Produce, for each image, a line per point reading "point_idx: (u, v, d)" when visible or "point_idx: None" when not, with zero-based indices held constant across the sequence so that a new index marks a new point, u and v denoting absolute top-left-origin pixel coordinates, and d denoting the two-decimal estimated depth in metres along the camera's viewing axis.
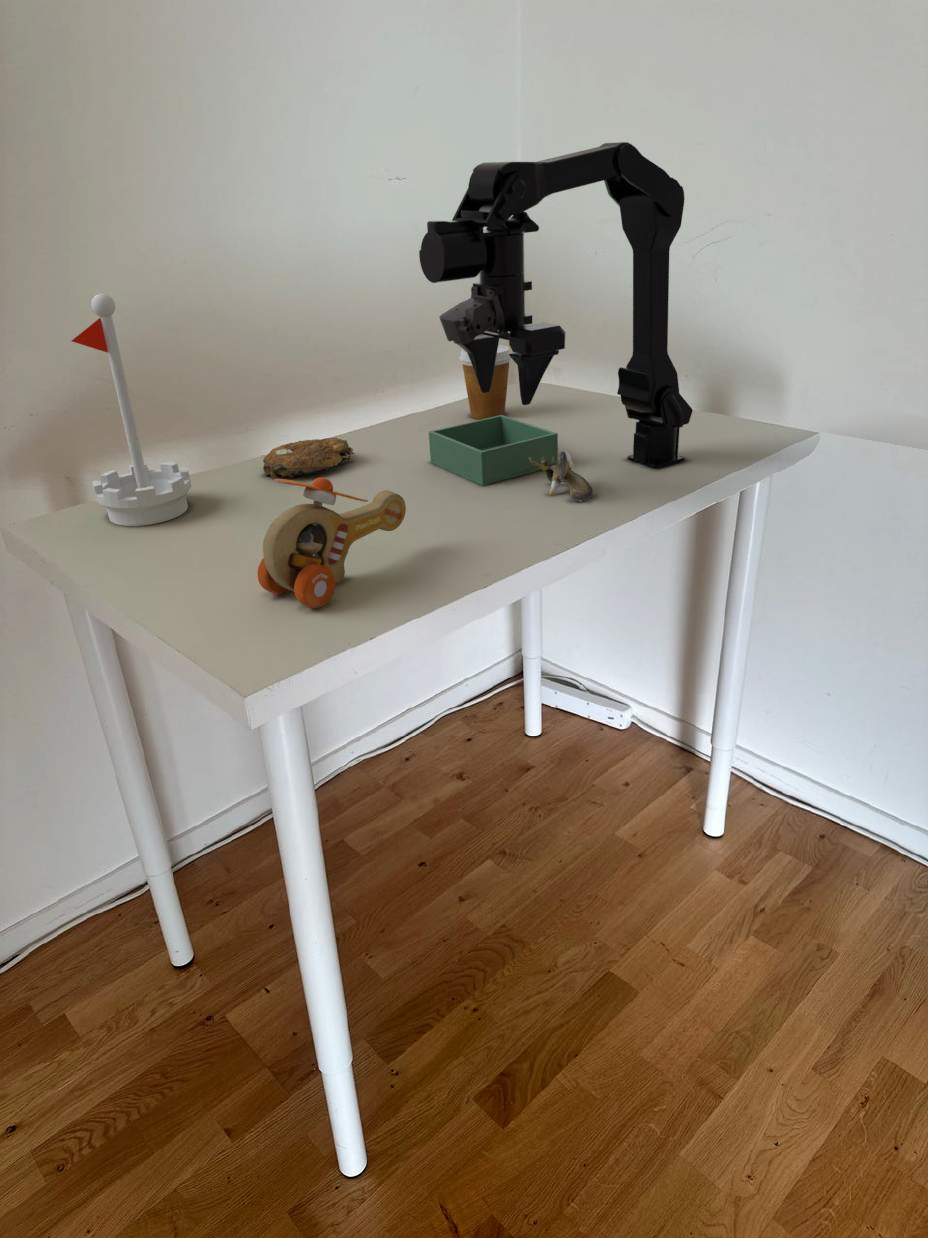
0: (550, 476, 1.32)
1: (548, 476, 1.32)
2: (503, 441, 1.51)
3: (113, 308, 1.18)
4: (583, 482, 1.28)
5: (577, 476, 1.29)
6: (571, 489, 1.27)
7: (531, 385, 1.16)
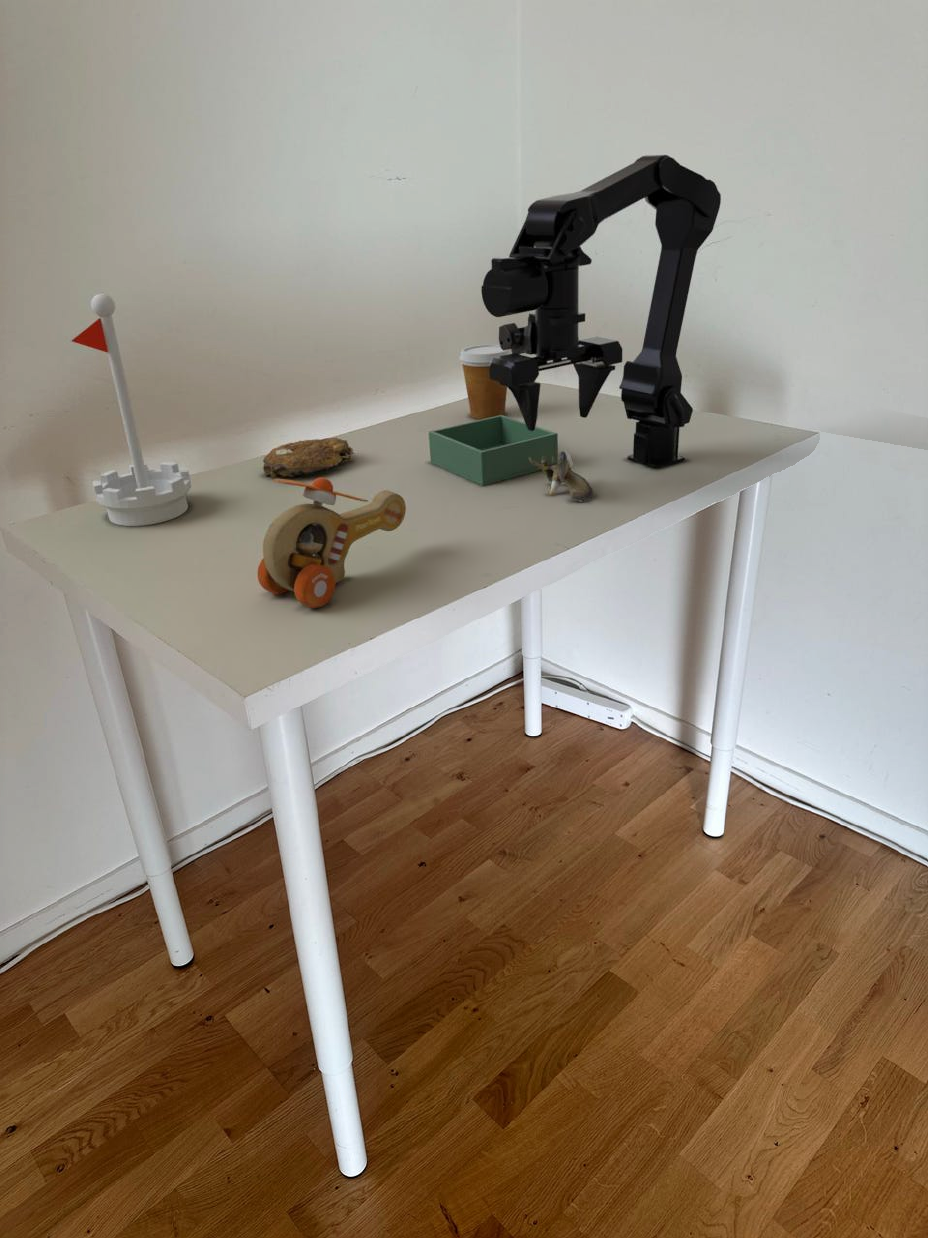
0: (550, 476, 1.32)
1: (548, 476, 1.32)
2: (503, 441, 1.51)
3: (113, 308, 1.18)
4: (583, 482, 1.28)
5: (577, 476, 1.29)
6: (571, 489, 1.27)
7: (525, 412, 1.21)
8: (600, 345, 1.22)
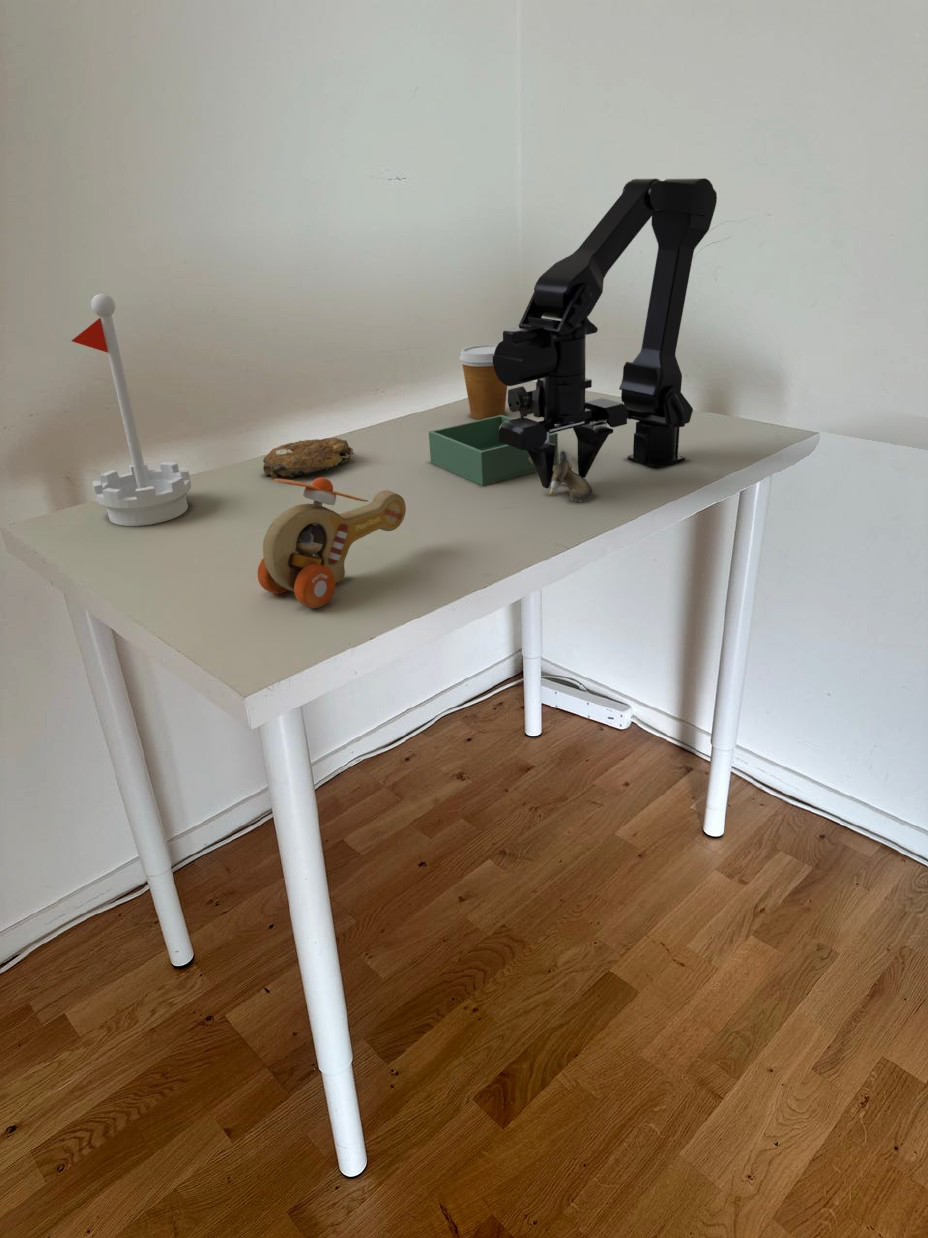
0: None
1: None
2: None
3: (113, 308, 1.18)
4: (583, 482, 1.28)
5: (577, 476, 1.29)
6: (571, 489, 1.27)
7: (540, 471, 1.26)
8: (606, 408, 1.26)
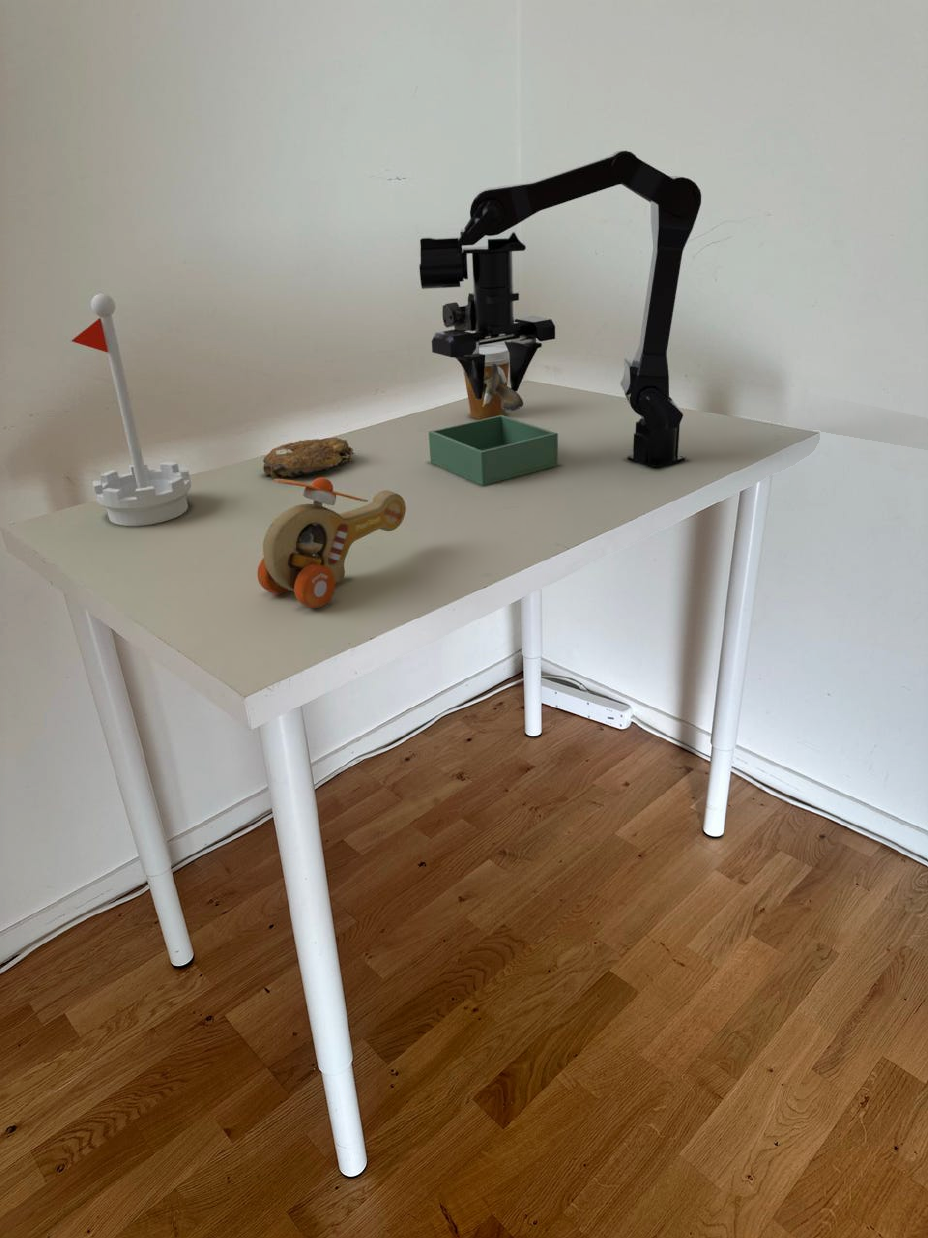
0: (484, 390, 1.39)
1: None
2: (503, 441, 1.51)
3: (113, 308, 1.18)
4: (514, 393, 1.36)
5: (508, 388, 1.36)
6: (502, 400, 1.35)
7: (473, 382, 1.34)
8: (534, 323, 1.33)
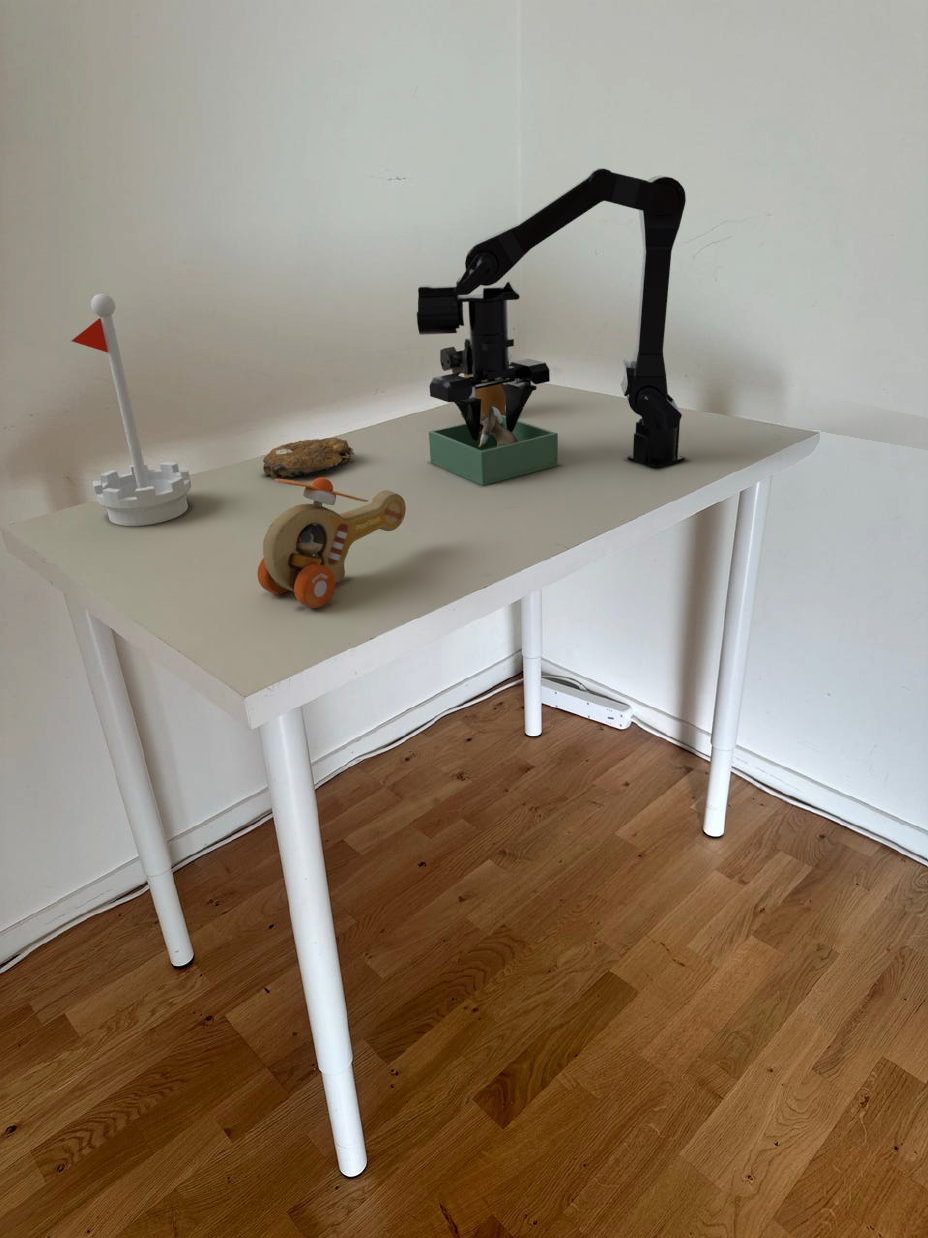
0: (481, 431, 1.44)
1: None
2: None
3: (113, 308, 1.18)
4: (509, 434, 1.40)
5: (504, 429, 1.40)
6: (498, 441, 1.39)
7: (469, 424, 1.38)
8: (529, 366, 1.38)
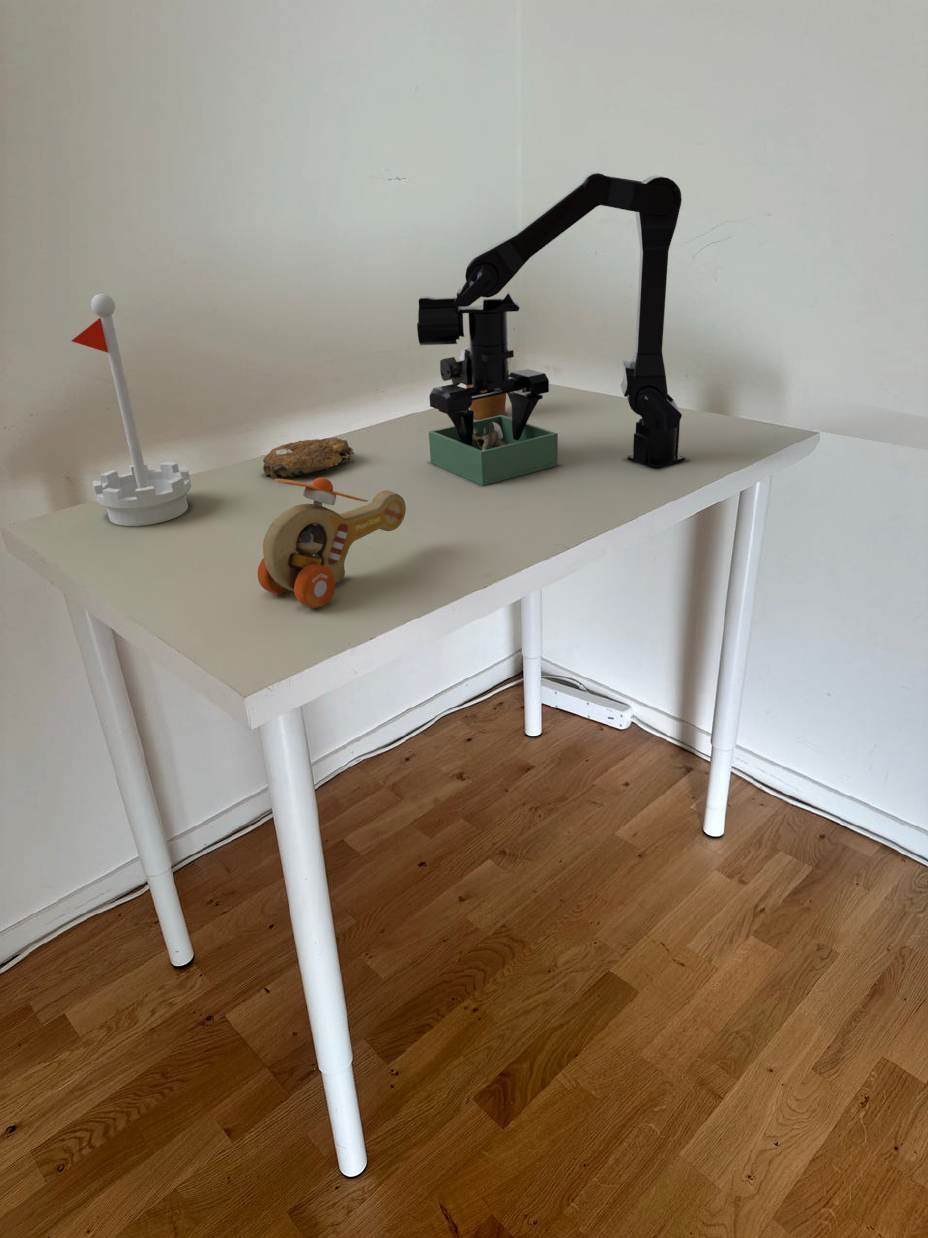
0: (482, 446, 1.45)
1: (480, 446, 1.45)
2: (503, 441, 1.51)
3: (113, 308, 1.18)
4: None
5: None
6: None
7: (462, 436, 1.38)
8: (528, 377, 1.38)
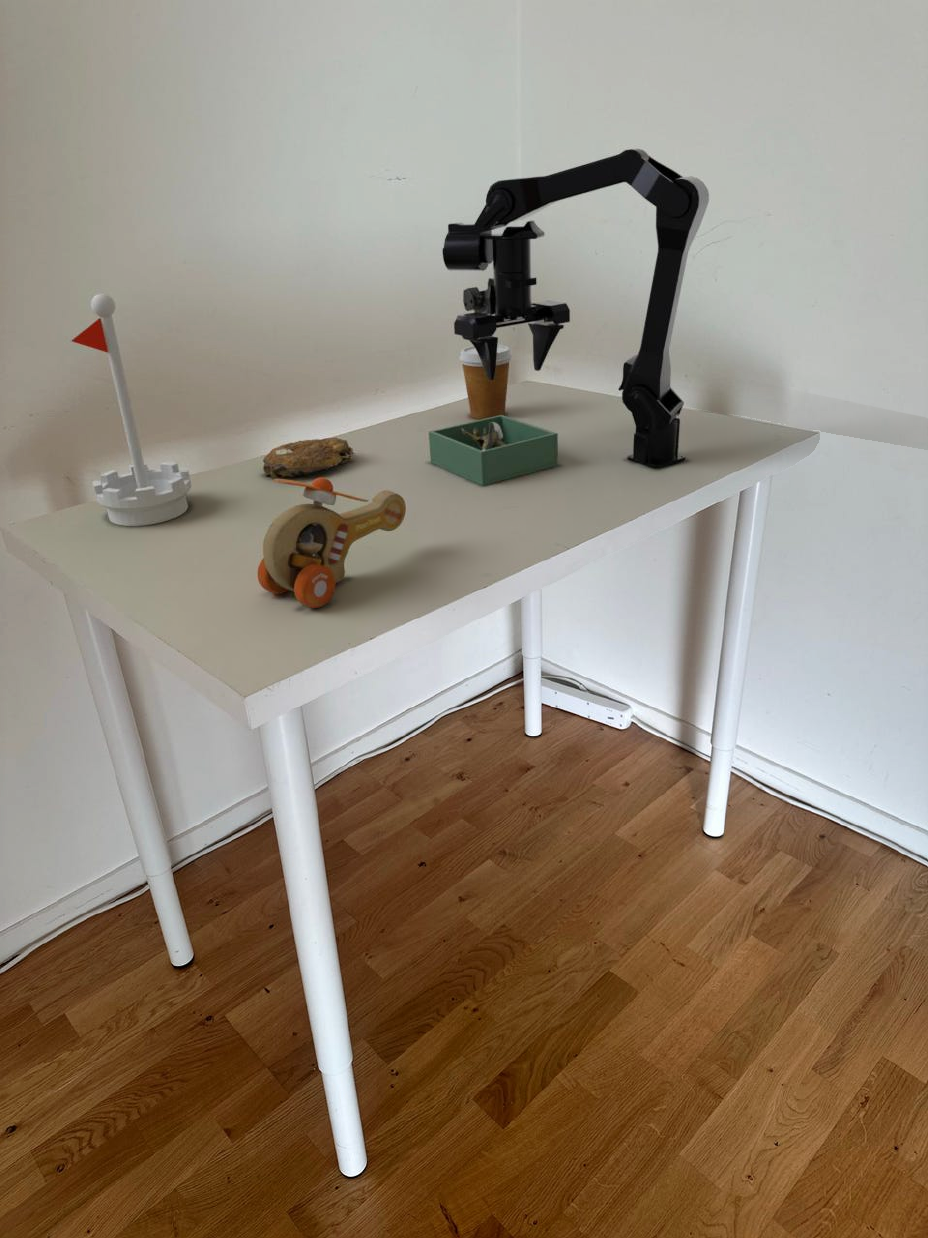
0: (482, 446, 1.45)
1: (480, 446, 1.45)
2: (503, 441, 1.51)
3: (113, 308, 1.18)
4: None
5: None
6: None
7: (485, 363, 1.41)
8: (550, 306, 1.41)
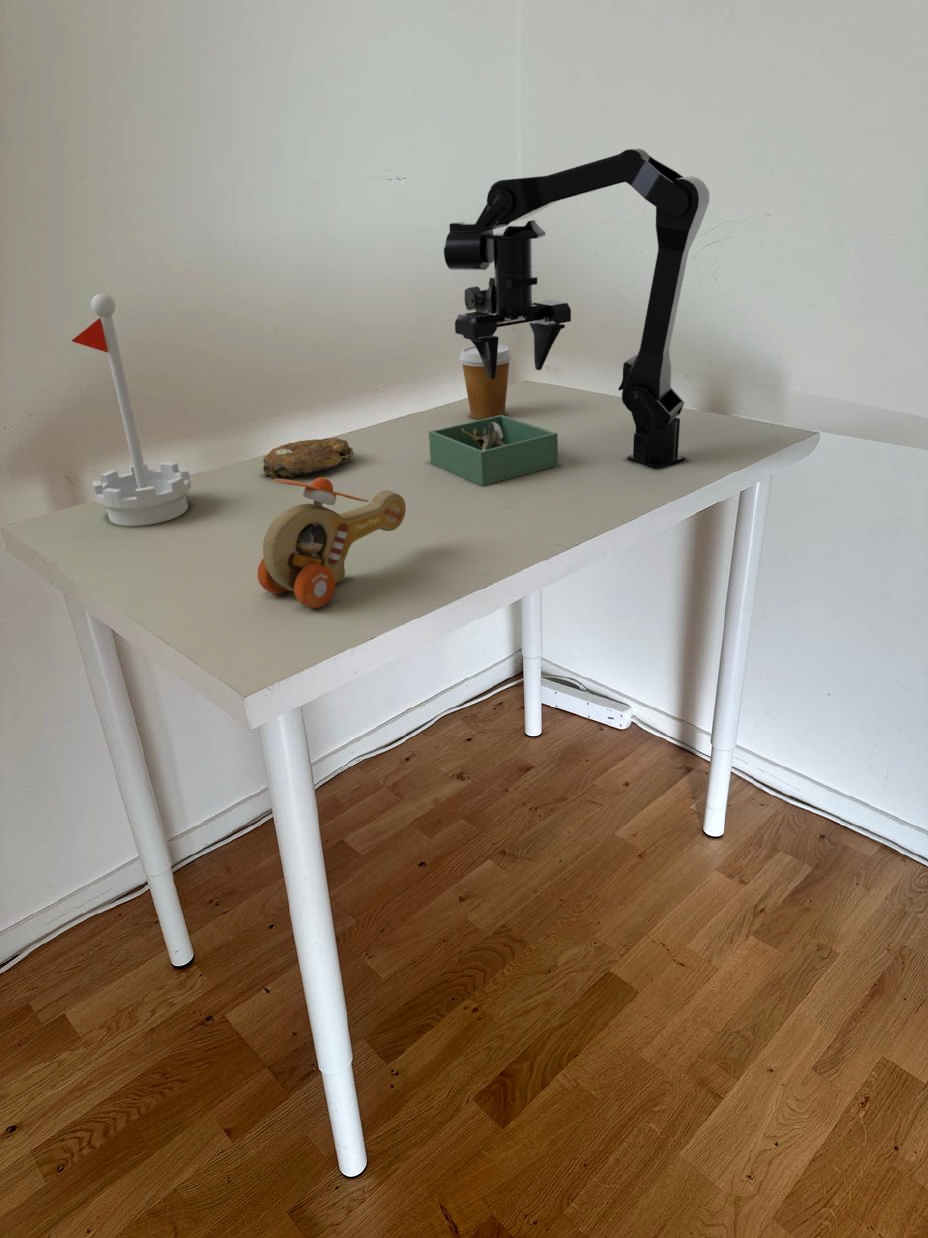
0: (482, 446, 1.45)
1: (480, 446, 1.45)
2: (503, 441, 1.51)
3: (113, 308, 1.18)
4: None
5: None
6: None
7: (486, 363, 1.41)
8: (551, 306, 1.41)
